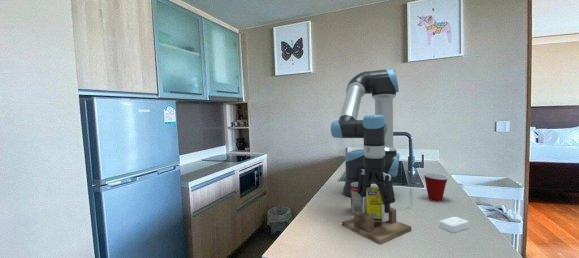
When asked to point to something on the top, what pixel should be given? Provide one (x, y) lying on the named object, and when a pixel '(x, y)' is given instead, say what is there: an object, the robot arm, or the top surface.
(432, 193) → the plastic cup
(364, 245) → the top surface
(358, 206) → the canned food
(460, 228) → the soap
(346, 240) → the top surface
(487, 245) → the top surface
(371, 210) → the supplement box
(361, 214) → the slotted stand
